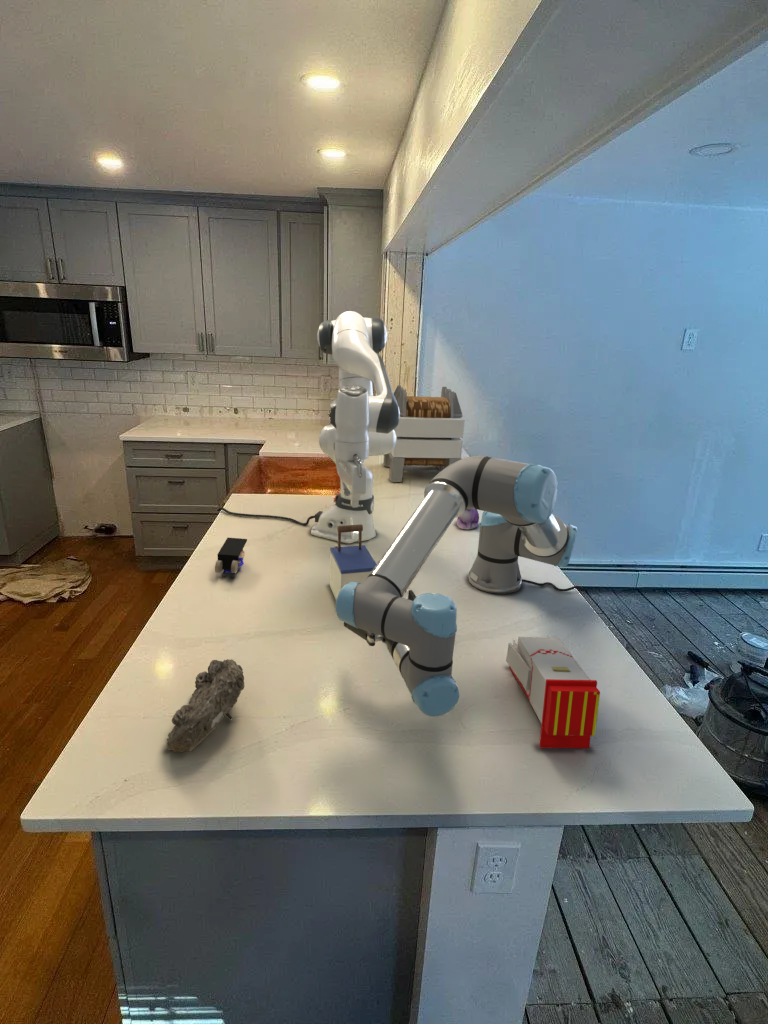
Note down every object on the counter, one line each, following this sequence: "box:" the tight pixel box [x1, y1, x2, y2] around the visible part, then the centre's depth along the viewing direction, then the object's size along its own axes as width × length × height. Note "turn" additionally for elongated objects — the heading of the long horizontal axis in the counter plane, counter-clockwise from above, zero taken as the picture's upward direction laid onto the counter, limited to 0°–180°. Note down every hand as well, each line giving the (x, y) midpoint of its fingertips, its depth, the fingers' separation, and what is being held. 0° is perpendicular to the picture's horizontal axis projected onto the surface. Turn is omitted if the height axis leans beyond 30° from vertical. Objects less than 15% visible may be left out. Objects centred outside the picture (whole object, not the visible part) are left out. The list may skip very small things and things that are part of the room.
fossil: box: [166, 658, 245, 754], centre depth 106 cm, size 22×10×15 cm
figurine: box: [456, 508, 480, 530], centre depth 208 cm, size 9×10×15 cm
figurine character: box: [214, 537, 248, 578], centre depth 166 cm, size 7×8×15 cm
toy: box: [505, 636, 601, 749], centre depth 115 cm, size 12×13×30 cm
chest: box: [329, 552, 372, 601], centre depth 154 cm, size 14×10×11 cm
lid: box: [329, 524, 377, 574], centre depth 151 cm, size 15×10×8 cm, turn 16°
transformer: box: [383, 384, 465, 483], centre depth 268 cm, size 34×33×41 cm
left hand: (350, 500), depth 151 cm, fingers open, 8 cm apart
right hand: (380, 598), depth 126 cm, fingers open, 13 cm apart
